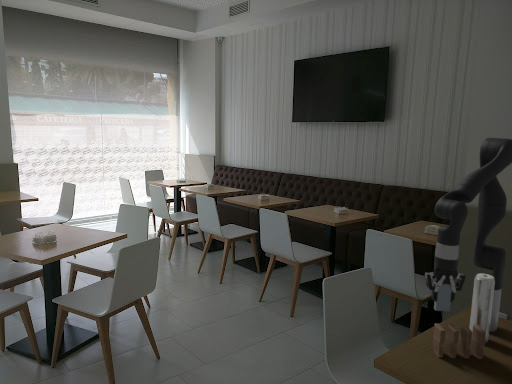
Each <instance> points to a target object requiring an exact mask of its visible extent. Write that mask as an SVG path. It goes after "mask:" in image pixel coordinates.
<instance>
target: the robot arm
mask: <svg viewBox="0 0 512 384" xmlns="http://www.w3.org/2000/svg"><path fill="white" fill-rule="evenodd" d="M511 164H512V138H503V137H502V138H501V137H500V138H499V137H498V138H497V137H487V138H485V139H484V140H483V141H482V142H481V144H480V148H479V168H477V169H475V170H472V172H470V173H468V174H466V175H465V176H464V177H463V178H462V179H461V180H460V181H459V182H458V184H457V186H455V188H454V189H452V190H450V191H449V192H447V193H446V194H444V195H443V196H441V197H440V198H439V199H438V200H437V201H436V203H435V205H434V214H435V215H436V217H438V218H440V219H443V220H448V221H449V224H448V225H440V226H439V227H438V228H437V236H436V237H437V239H436V245H435V251H434V264H433V266H434V267H433V270H432V271H431V272H428V271H426V272H424V278H425V284H426V288H428V290H430V291H431V300H433V302H437V297H438V292H437V291H438V289H439V287H441V285H442V284H444V283H447V284H451V289H452V292H451V301H450V302H451V303H453V302H454V301H455V299H456V297H455V296H456V293H457V292H461V291H462V289H463V288H464V287H463V286H464V283H465V280H466V278H467V277H466V275H465V274H463V272H460V273H459V272H458V267H459V258H460V257H459V256H460V238H461V232H462V229H463V226H464V225H465V222H466V220H467V218H468V215H469V209H468V206H467V204H469V203H470V204H471V203H472V202H473V201H474V199H475V198H476V197H477V196H478V199H477V201H478V202H477V223H476V234H475V240H474V248H473V254H472V262H473V265H474V266H475V267H477V268H481V269H484V270H491V271H493V272H492V273H489V274H488V275H491V276H493V277H494V279H495V286H494V294H493V303H492V312H491V321H490V329H489V333H494V332H496V331H498V330H497V329H498V324H499V316H500V307H501V297H502V296H501V295H502V289H503V279H504V274H505V267H506V263H507V251H506V249H505V248H503V247H499V246H492V245H487V244H486V242H487V241H486V240H487V239H488V236H490V234H491V232H492V231H493V230H494V229H495V228H496V227H498V226H499V224H500V223H501V222H502V221H503V219H504V218H505V216H506V212H507V202H508V201H507V199H508V198H507V195H506V193H505V190H504V188H503V187H502V185H501V183H500V181H499V179H498V175H499V174H500V173H502V172H503V171H504V170H505V169H507V168H508V167H509V166H510V165H511ZM433 277H434V280H433V282H432V279H433ZM455 280H456V282H455Z"/></svg>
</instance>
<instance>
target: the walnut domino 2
mask: <svg viewBox="0 0 512 384" xmlns="http://www.w3.org/2000/svg"><path fill="white" fill-rule="evenodd" d="M459 334H460V330H459V329H458V328H457V327H455V325H454V324H453V323H447V325H446V333H445V337H446V338H445V344H444V351H445V352H446V353H447V355H448V356H449V357H450V358H451V359H457V354H458V344H459Z"/></svg>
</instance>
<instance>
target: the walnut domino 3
mask: <svg viewBox="0 0 512 384" xmlns="http://www.w3.org/2000/svg"><path fill="white" fill-rule="evenodd" d="M459 327H460V328H459V335H458V345H457V352H458V353H459V354H460V355H461V356H462V357H463V358H464V360H465V359H467V360H470V357H471V343H472V331H471V330H470V329H469V326H467V325H466V324H460V325H459Z"/></svg>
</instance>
